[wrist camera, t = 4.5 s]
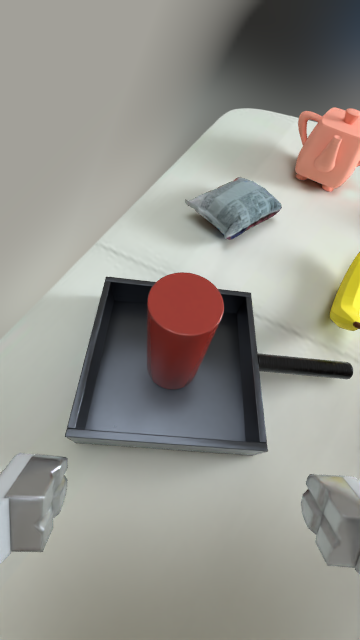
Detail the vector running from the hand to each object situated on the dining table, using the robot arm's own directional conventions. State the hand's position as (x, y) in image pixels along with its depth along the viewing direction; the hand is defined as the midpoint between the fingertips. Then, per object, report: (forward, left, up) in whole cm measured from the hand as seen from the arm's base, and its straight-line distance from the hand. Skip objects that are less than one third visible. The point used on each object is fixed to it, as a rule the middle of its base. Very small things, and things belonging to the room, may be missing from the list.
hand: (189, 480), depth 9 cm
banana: (+21, +21, -15) cm, 33 cm away
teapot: (+24, +49, -15) cm, 57 cm away
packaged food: (+7, +34, -15) cm, 38 cm away
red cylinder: (0, +10, -15) cm, 18 cm away
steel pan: (+4, +10, -15) cm, 18 cm away
